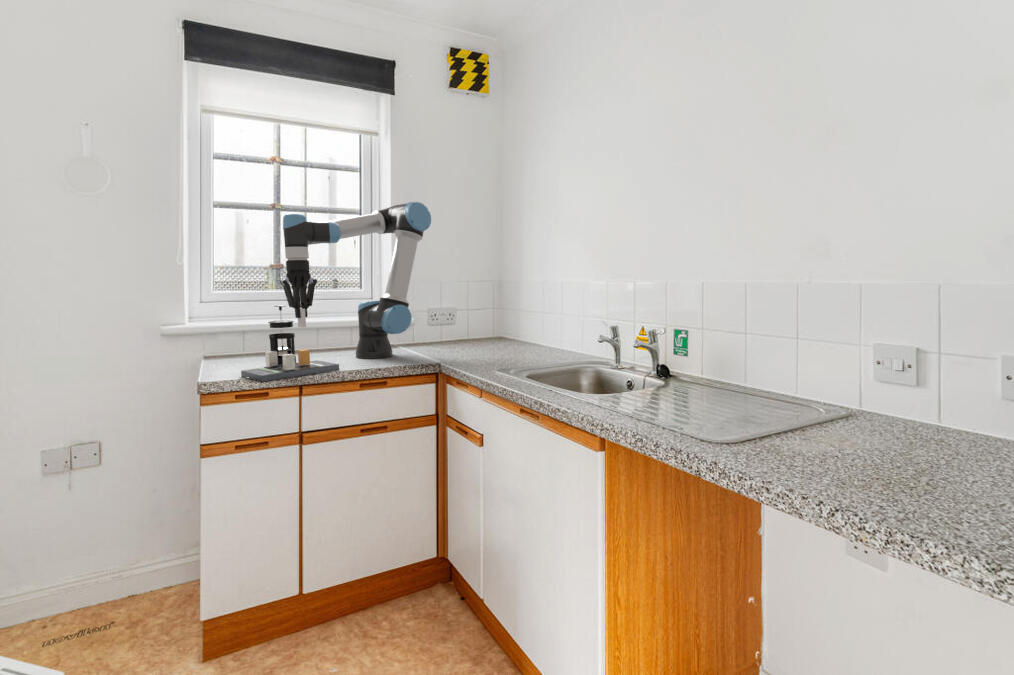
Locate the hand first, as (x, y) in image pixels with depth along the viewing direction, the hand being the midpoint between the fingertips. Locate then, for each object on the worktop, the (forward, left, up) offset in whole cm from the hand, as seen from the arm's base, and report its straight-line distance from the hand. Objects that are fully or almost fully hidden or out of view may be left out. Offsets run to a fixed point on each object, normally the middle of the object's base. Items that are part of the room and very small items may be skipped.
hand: (302, 326), depth 186 cm
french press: (-1, -18, -16) cm, 24 cm away
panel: (+5, 0, -16) cm, 16 cm away
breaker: (0, 0, -13) cm, 13 cm away
